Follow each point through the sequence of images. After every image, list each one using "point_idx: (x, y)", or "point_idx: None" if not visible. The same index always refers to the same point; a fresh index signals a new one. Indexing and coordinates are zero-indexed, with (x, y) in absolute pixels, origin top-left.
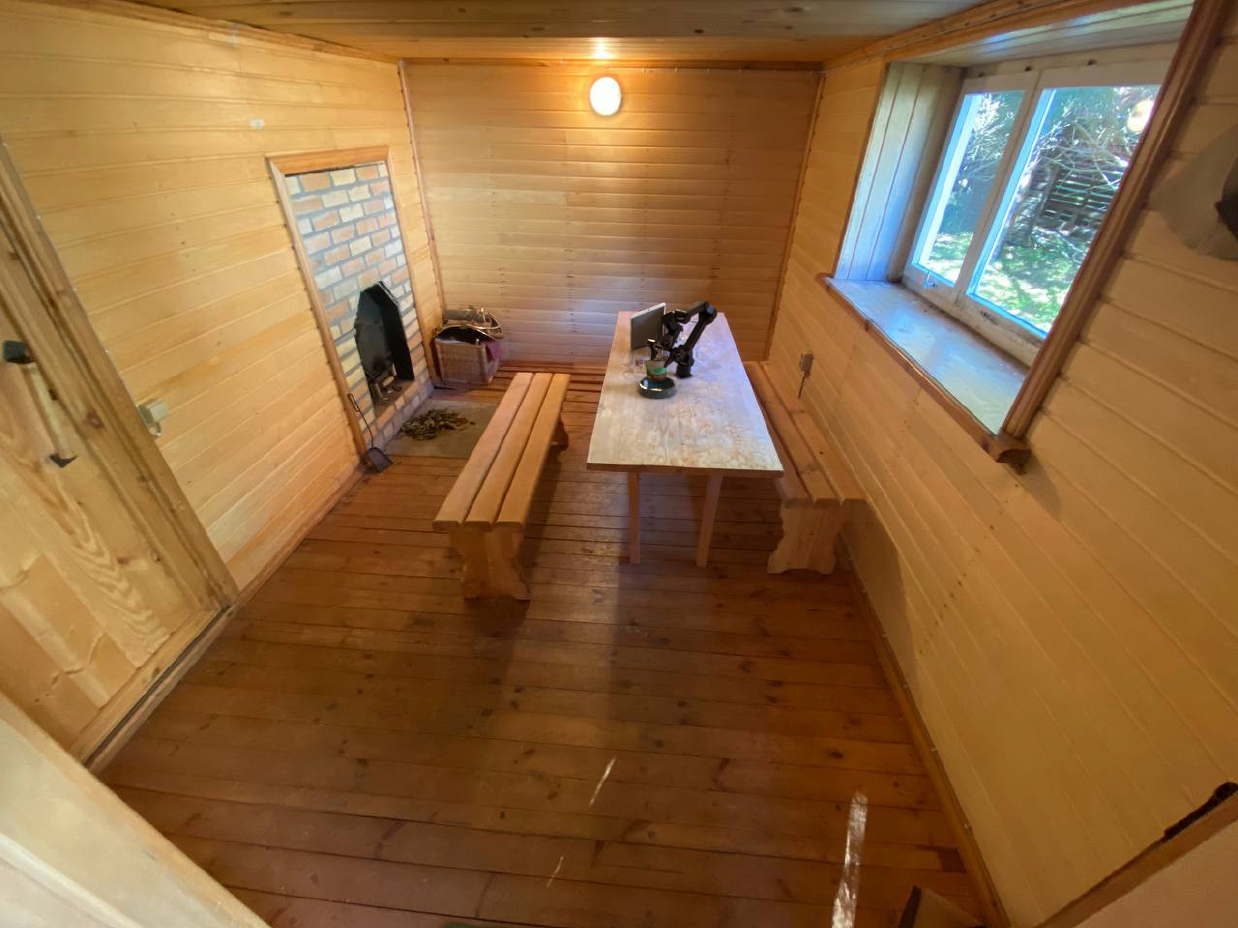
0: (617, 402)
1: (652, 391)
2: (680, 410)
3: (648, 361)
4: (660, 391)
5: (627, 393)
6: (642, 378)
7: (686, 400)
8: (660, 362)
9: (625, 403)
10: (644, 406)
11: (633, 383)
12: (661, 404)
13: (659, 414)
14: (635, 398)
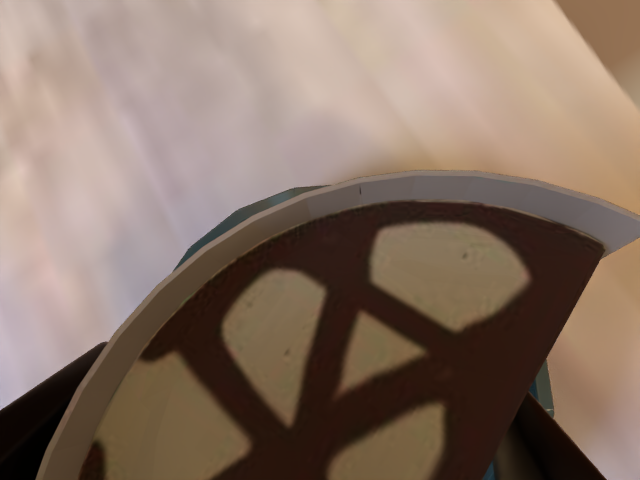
0: (488, 8)
1: (286, 193)
2: (21, 171)
3: (479, 179)
4: (215, 229)
5: (523, 172)
6: (543, 387)
7: (33, 347)
8: (148, 306)
9: (427, 30)
10: (280, 72)
11: (614, 380)
12: (184, 170)
13: (132, 39)
14: (412, 137)
